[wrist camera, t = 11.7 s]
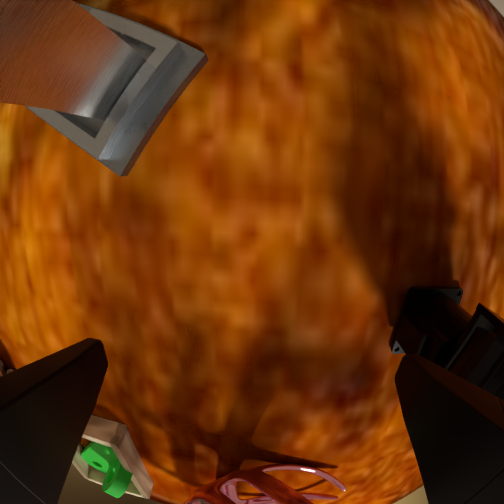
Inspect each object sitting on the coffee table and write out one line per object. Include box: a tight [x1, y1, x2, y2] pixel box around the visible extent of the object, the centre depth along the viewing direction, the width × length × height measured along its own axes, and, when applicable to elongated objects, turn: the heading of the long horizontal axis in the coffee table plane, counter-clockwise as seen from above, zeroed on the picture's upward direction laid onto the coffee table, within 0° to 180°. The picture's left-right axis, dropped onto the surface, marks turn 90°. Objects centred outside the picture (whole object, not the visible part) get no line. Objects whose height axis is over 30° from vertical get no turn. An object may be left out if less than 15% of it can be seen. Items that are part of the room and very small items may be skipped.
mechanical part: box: [81, 441, 133, 498], centre depth 26 cm, size 12×6×8 cm, turn 138°
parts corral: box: [72, 415, 154, 499], centre depth 27 cm, size 12×18×4 cm, turn 177°
